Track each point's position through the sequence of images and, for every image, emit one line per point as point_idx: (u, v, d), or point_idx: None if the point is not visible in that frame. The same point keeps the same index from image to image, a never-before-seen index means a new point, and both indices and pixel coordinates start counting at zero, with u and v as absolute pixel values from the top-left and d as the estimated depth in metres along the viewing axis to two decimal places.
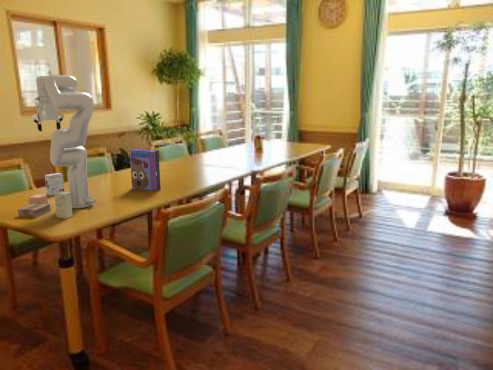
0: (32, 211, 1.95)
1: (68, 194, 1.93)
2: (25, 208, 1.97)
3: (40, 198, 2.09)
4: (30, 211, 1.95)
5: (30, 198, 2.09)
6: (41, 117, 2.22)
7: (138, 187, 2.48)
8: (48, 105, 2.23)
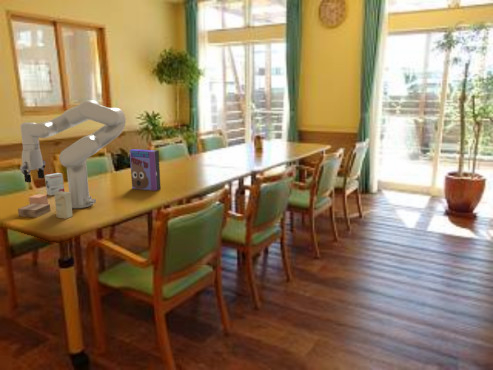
0: (32, 211, 1.95)
1: (68, 194, 1.93)
2: (25, 208, 1.97)
3: (40, 198, 2.09)
4: (30, 211, 1.95)
5: (30, 198, 2.09)
6: None
7: (138, 187, 2.48)
8: None
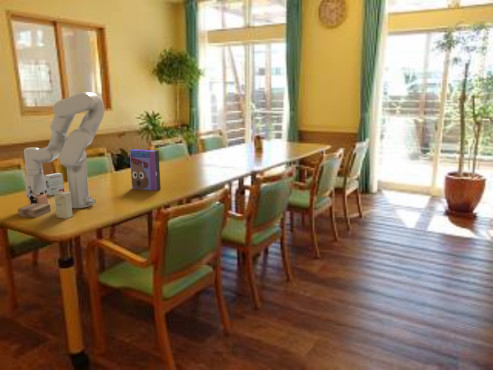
0: (32, 211, 1.95)
1: (68, 194, 1.93)
2: (25, 208, 1.97)
3: (40, 198, 2.09)
4: (30, 211, 1.95)
5: None
6: None
7: (138, 187, 2.48)
8: None
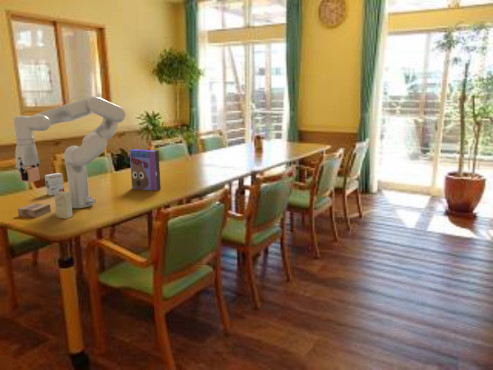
0: (31, 211, 1.95)
1: (68, 194, 1.93)
2: (25, 208, 1.97)
3: (31, 171, 1.94)
4: (30, 211, 1.95)
5: None
6: None
7: (138, 187, 2.48)
8: None
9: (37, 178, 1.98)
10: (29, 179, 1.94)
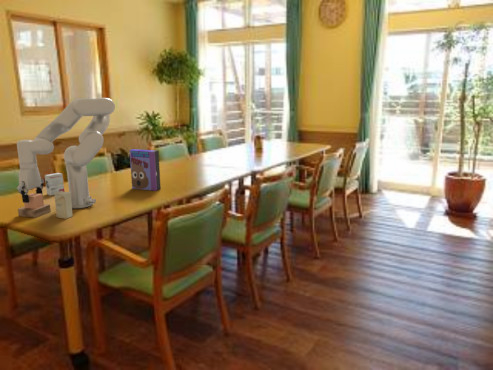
0: (31, 211, 1.95)
1: (68, 194, 1.93)
2: (25, 208, 1.97)
3: (35, 197, 1.96)
4: (29, 211, 1.95)
5: None
6: None
7: (138, 187, 2.48)
8: None
9: (41, 204, 2.01)
10: (34, 206, 1.97)
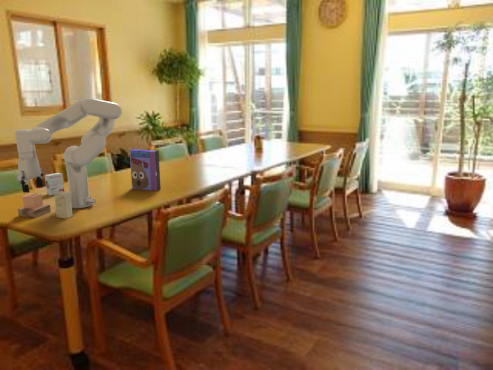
0: (31, 211, 1.95)
1: (68, 194, 1.93)
2: (25, 208, 1.97)
3: (34, 197, 1.96)
4: (29, 211, 1.95)
5: (24, 197, 1.96)
6: None
7: (138, 187, 2.48)
8: None
9: (40, 204, 2.01)
10: (33, 206, 1.96)
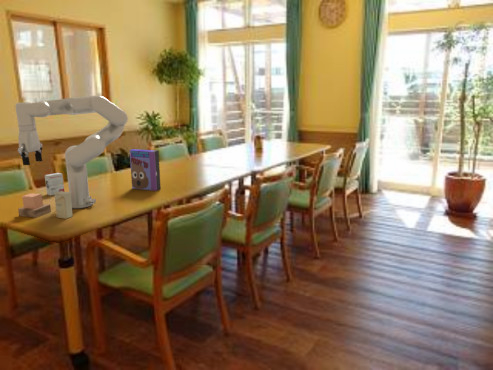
0: (31, 211, 1.95)
1: (68, 194, 1.93)
2: (25, 208, 1.98)
3: (34, 197, 1.96)
4: (30, 211, 1.95)
5: (23, 197, 1.96)
6: None
7: (138, 187, 2.48)
8: None
9: (40, 204, 2.01)
10: (32, 206, 1.96)
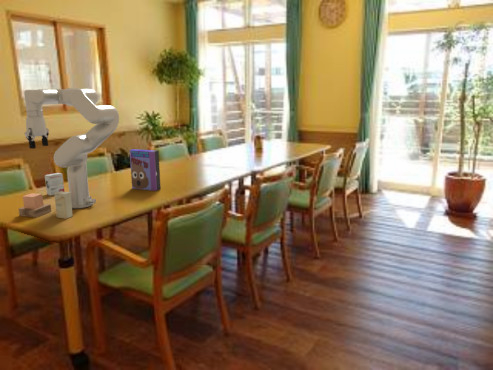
0: (31, 211, 1.95)
1: (68, 194, 1.93)
2: (25, 208, 1.98)
3: (35, 197, 1.96)
4: (30, 211, 1.95)
5: (24, 197, 1.96)
6: None
7: (138, 187, 2.48)
8: None
9: (41, 204, 2.01)
10: (33, 206, 1.96)
